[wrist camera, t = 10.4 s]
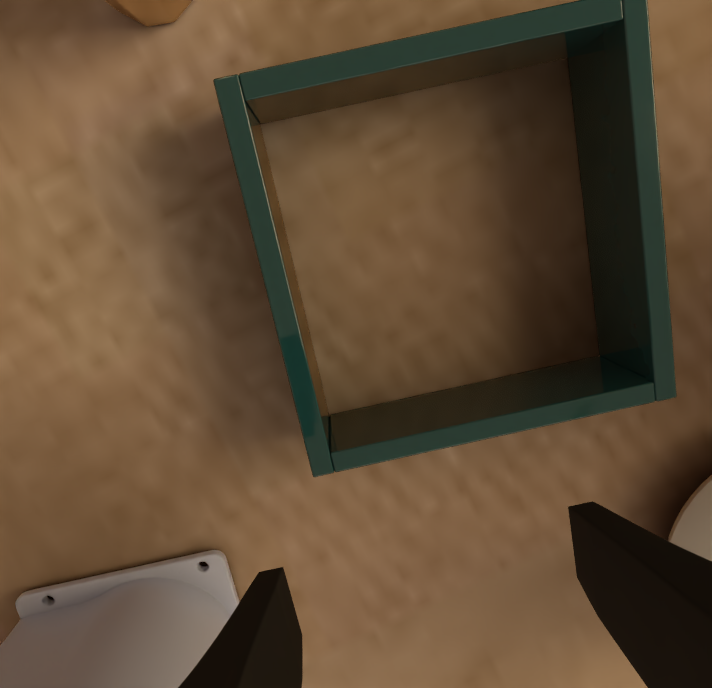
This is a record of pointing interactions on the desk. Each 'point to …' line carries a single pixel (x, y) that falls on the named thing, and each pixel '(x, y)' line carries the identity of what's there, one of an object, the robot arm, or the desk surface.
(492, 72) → the holder
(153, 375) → the desk surface
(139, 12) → the milkshake
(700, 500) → the flower in vase
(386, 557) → the desk surface
